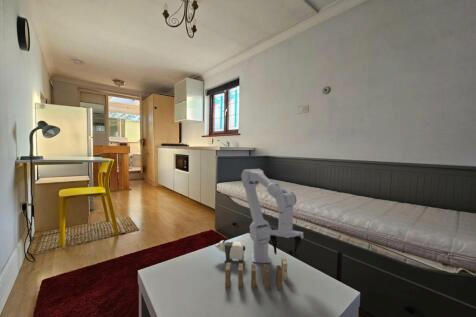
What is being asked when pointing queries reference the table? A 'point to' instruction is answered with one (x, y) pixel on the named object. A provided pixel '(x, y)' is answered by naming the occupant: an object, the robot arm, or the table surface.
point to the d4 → (266, 277)
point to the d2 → (240, 275)
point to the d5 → (279, 277)
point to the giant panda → (232, 250)
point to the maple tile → (284, 268)
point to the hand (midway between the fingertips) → (284, 253)
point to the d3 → (253, 276)
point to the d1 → (227, 274)
